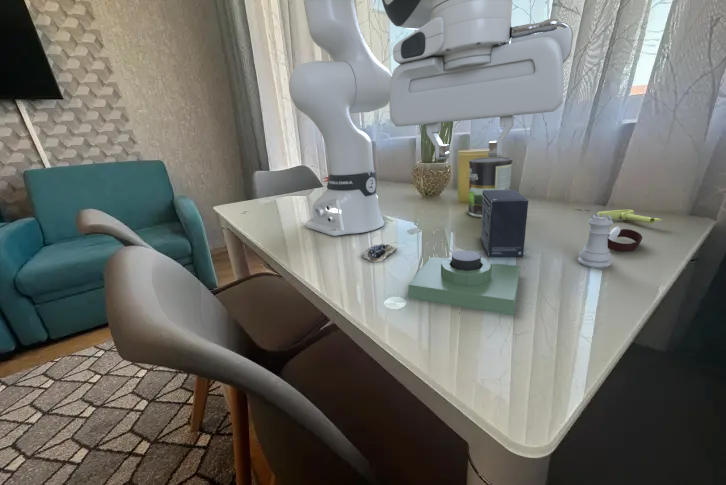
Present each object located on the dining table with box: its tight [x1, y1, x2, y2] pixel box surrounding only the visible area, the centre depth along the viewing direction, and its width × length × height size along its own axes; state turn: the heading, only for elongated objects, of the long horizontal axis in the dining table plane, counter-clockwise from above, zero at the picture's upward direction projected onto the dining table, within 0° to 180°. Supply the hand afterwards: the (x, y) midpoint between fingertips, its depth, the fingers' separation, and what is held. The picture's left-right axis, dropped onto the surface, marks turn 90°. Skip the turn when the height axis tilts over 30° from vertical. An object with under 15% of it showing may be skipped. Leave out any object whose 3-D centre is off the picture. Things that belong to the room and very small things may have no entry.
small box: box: [480, 189, 529, 258], centre depth 61 cm, size 11×6×10 cm, turn 168°
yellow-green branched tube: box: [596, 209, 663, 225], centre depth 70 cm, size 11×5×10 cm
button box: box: [408, 256, 521, 316], centre depth 48 cm, size 14×11×4 cm
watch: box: [608, 226, 643, 252], centre depth 57 cm, size 8×5×4 cm, turn 118°
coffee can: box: [467, 156, 513, 219], centre depth 84 cm, size 10×10×14 cm
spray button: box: [451, 250, 482, 271], centre depth 47 cm, size 4×4×2 cm
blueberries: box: [362, 243, 398, 263], centre depth 64 cm, size 7×8×2 cm
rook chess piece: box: [577, 213, 615, 269], centre depth 51 cm, size 4×4×8 cm
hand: (467, 157), depth 42 cm, fingers open, 5 cm apart
